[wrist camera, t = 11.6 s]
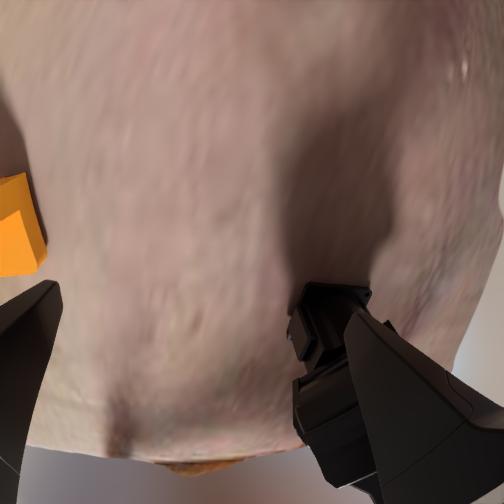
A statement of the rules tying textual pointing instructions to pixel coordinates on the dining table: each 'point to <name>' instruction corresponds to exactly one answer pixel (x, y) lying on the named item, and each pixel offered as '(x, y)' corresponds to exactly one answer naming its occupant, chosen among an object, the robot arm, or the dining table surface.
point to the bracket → (19, 229)
